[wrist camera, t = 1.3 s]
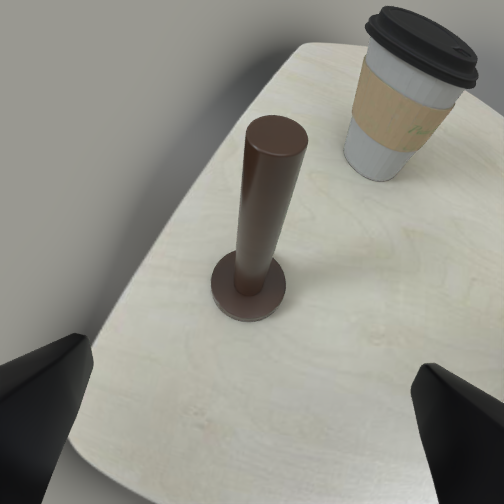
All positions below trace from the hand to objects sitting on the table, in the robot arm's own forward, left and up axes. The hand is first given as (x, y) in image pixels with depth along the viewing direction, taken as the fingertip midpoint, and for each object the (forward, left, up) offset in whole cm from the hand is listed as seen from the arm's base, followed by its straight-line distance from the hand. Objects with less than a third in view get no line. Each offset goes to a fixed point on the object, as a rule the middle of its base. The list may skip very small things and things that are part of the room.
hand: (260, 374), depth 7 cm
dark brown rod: (+7, -1, -13) cm, 15 cm away
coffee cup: (+19, -15, -13) cm, 27 cm away
